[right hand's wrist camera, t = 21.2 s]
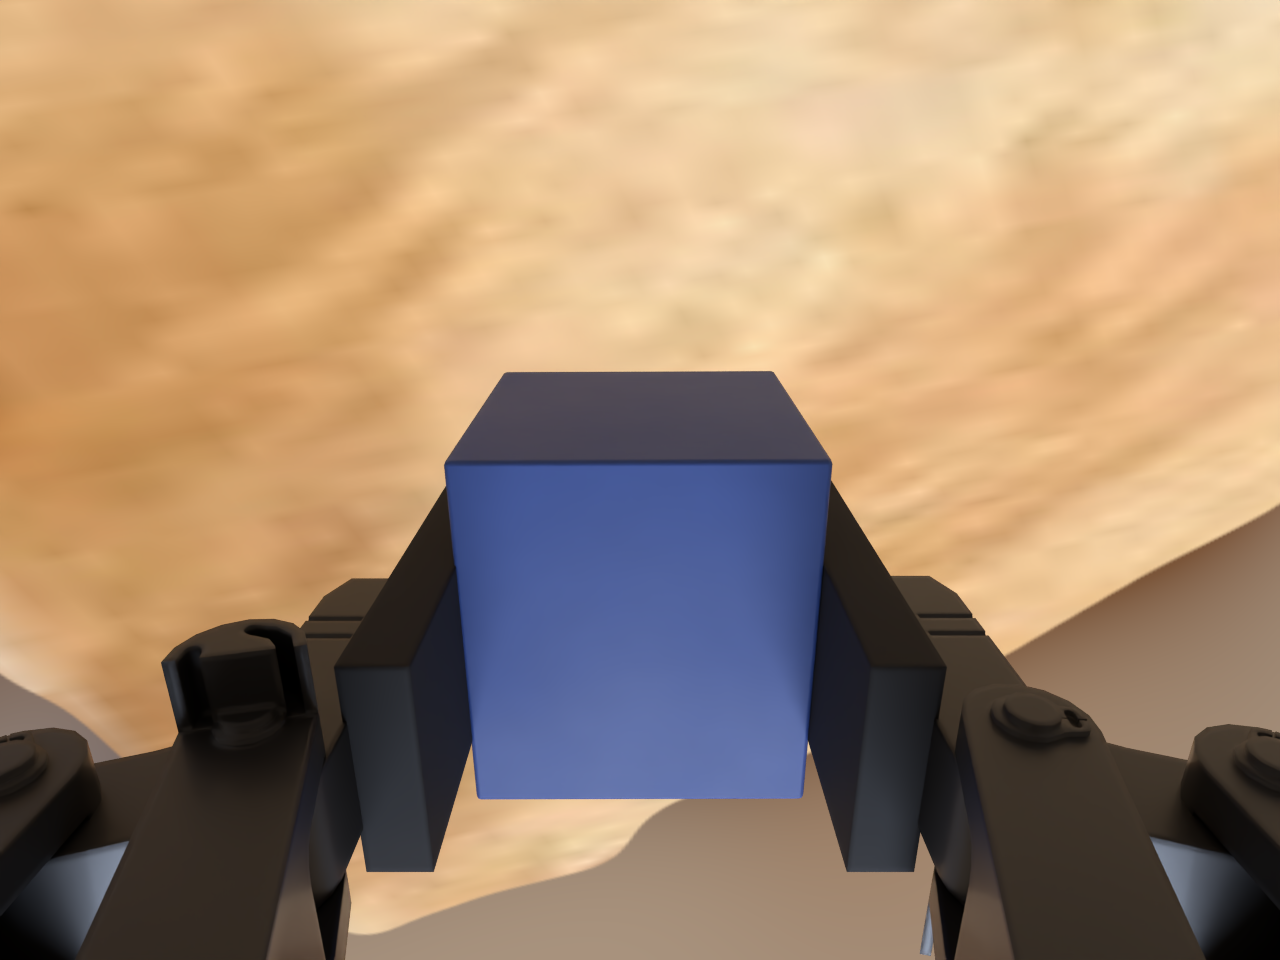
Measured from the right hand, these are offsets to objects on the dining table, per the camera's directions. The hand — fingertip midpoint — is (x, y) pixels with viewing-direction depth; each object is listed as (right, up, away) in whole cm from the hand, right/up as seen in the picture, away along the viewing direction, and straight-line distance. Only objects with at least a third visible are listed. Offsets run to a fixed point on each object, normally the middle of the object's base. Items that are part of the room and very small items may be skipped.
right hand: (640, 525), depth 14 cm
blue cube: (0, 0, 0) cm, 0 cm away
